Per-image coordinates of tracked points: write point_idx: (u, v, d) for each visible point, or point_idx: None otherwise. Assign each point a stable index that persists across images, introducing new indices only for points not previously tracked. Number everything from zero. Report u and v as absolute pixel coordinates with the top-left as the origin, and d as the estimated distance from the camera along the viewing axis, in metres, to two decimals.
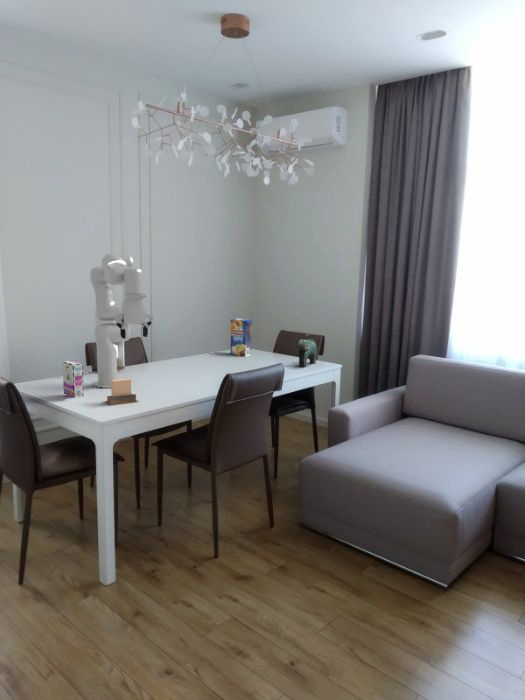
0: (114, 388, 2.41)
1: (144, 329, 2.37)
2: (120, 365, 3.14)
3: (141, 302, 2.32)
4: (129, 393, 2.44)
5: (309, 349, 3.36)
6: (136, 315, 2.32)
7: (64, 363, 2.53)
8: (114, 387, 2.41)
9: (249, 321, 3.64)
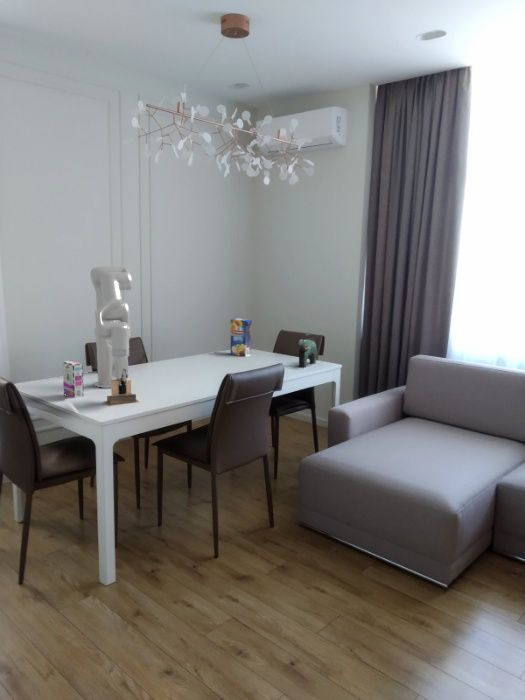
0: (114, 388, 2.41)
1: None
2: None
3: None
4: (129, 393, 2.44)
5: (309, 349, 3.36)
6: None
7: (64, 363, 2.53)
8: (114, 387, 2.41)
9: (249, 321, 3.64)
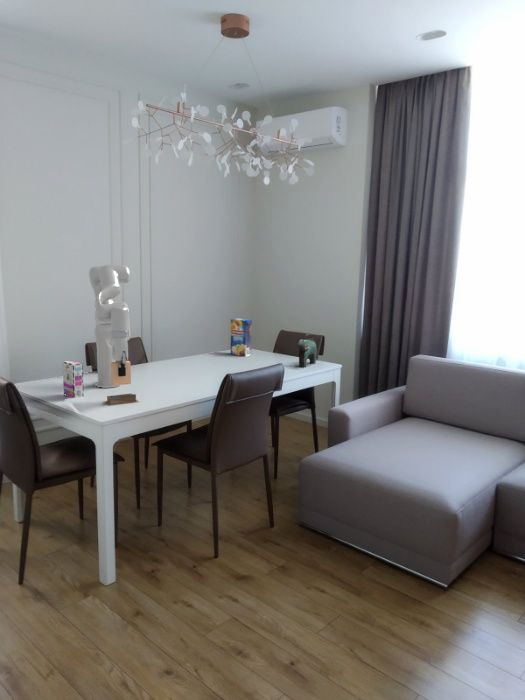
0: (113, 370, 2.40)
1: None
2: None
3: None
4: (128, 375, 2.44)
5: (309, 349, 3.36)
6: None
7: (64, 363, 2.53)
8: (114, 370, 2.40)
9: (249, 321, 3.64)
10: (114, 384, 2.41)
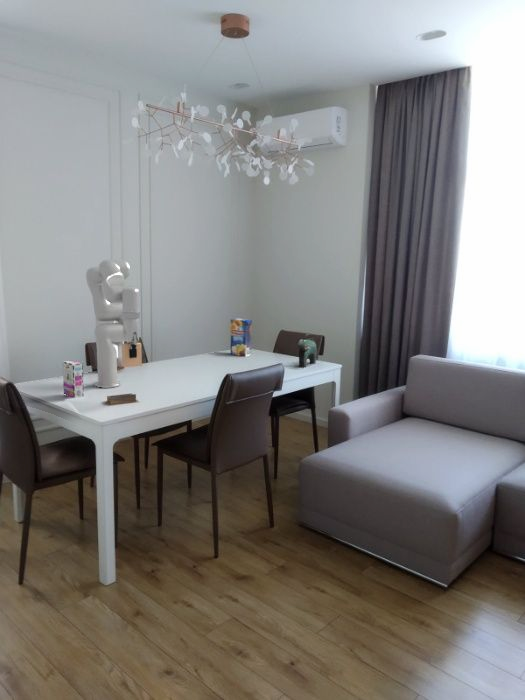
0: (124, 352, 2.41)
1: None
2: (120, 365, 3.14)
3: None
4: (139, 357, 2.45)
5: (309, 349, 3.36)
6: None
7: (64, 363, 2.53)
8: (125, 351, 2.41)
9: (249, 321, 3.64)
10: (125, 365, 2.42)
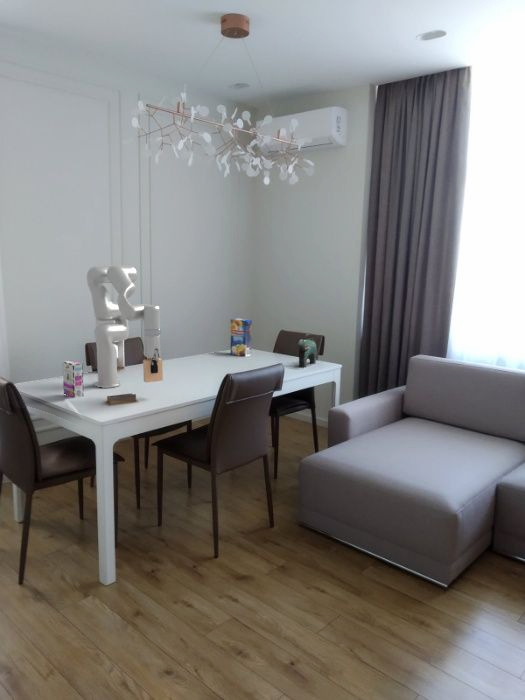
0: (146, 367, 2.48)
1: None
2: (120, 365, 3.14)
3: None
4: (160, 372, 2.51)
5: (309, 349, 3.36)
6: None
7: (64, 363, 2.53)
8: (146, 367, 2.48)
9: (249, 321, 3.64)
10: (147, 381, 2.49)
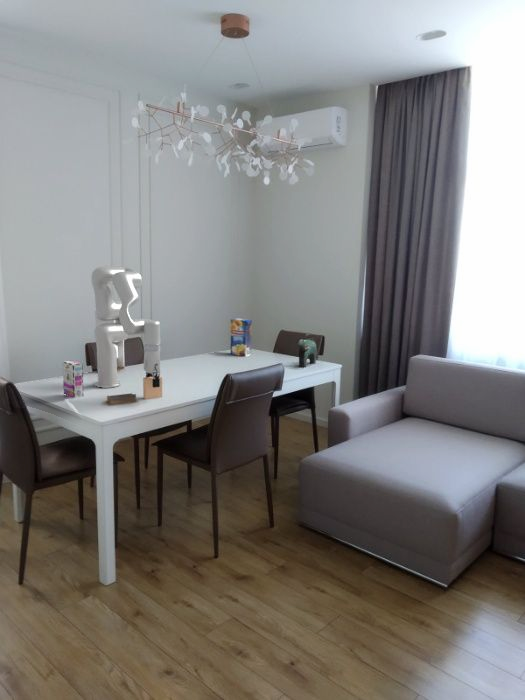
0: (146, 385, 2.49)
1: (149, 376, 2.55)
2: (120, 365, 3.14)
3: None
4: (160, 390, 2.53)
5: (309, 349, 3.36)
6: None
7: (64, 363, 2.53)
8: (146, 385, 2.49)
9: (249, 321, 3.64)
10: (146, 398, 2.50)
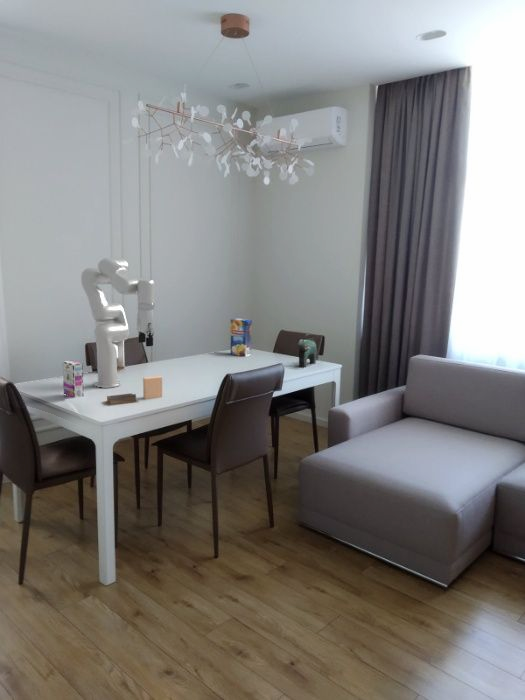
0: (146, 385, 2.49)
1: (142, 336, 2.54)
2: (120, 365, 3.14)
3: None
4: (160, 390, 2.53)
5: (309, 349, 3.36)
6: None
7: (64, 363, 2.53)
8: (146, 385, 2.49)
9: (249, 321, 3.64)
10: (146, 398, 2.50)
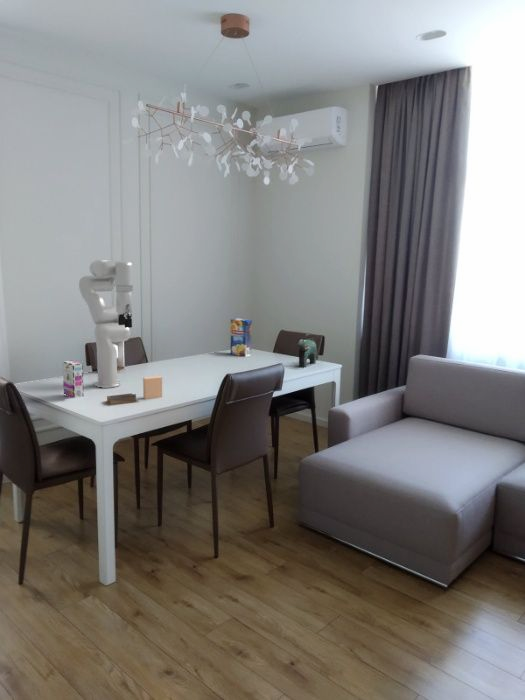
0: (146, 385, 2.49)
1: (122, 318, 2.56)
2: (120, 365, 3.14)
3: None
4: (160, 390, 2.53)
5: (309, 349, 3.36)
6: None
7: (64, 363, 2.53)
8: (146, 385, 2.49)
9: (249, 321, 3.64)
10: (146, 398, 2.50)
